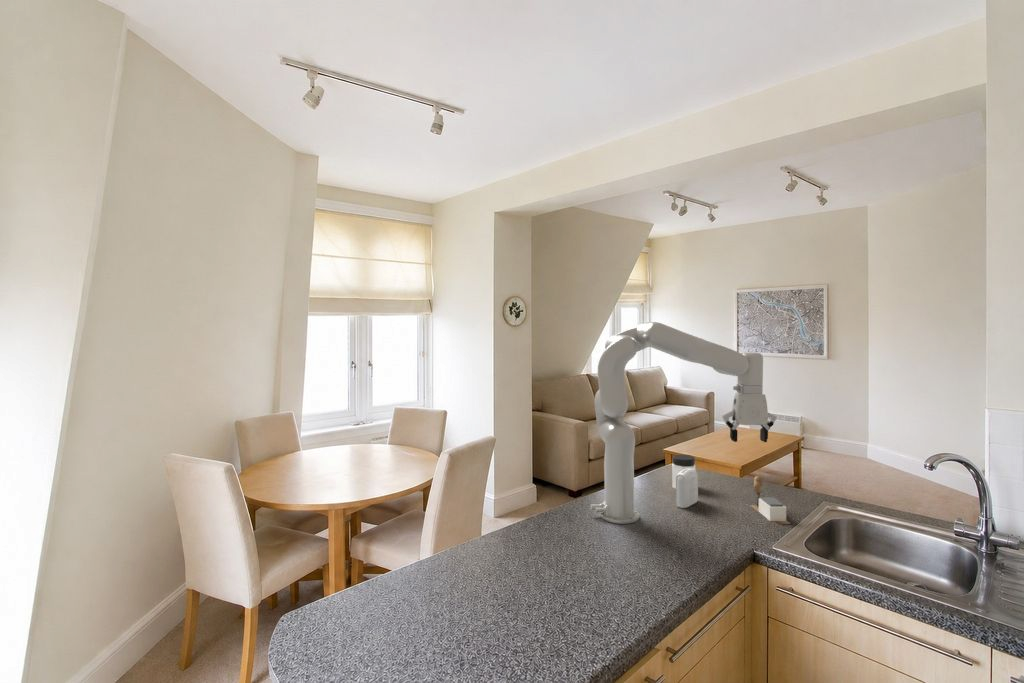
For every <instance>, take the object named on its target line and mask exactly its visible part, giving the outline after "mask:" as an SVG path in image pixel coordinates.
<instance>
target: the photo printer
mask: <svg viewBox="0 0 1024 683" xmlns="http://www.w3.org/2000/svg"><path fill="white" fill-rule="evenodd" d="M698 487H699V474H698V472H697V470H696V469H695V470H694V469H691V468H687V469H684V470H682V471H681V472H679V473H678V475H677V476H676V489H675V505H676V507H678V508H680V509H686V508H689V507H691V506H692V505H695V504H697V502H698V500H699V488H698Z"/></svg>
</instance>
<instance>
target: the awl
mask: <svg viewBox="0 0 1024 683" xmlns="http://www.w3.org/2000/svg"><path fill="white" fill-rule="evenodd" d="M753 491H754V493H756V505H757V506H759V498H761V493H763V491H764V490H763V478H762V477H761V476H759V475H756V476H755V477H754V478H753Z"/></svg>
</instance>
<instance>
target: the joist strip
mask: <svg viewBox="0 0 1024 683" xmlns="http://www.w3.org/2000/svg"><path fill="white" fill-rule="evenodd" d="M749 506H750V507H751V508H753V509H754V510H755V511H756V512H758V513H760V512H759V506H757V504H749ZM771 522H772V524H774V525H784V524H786V525H788V524H790V525H791V524H792V523H791V522H790V521H788V520H787V519H786V521H771Z"/></svg>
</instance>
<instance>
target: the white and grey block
mask: <svg viewBox="0 0 1024 683" xmlns="http://www.w3.org/2000/svg"><path fill="white" fill-rule="evenodd" d="M758 513H759V514H761V515H762V516H763V517H765V518H766V519H767V520H768V521H770V522H772V521H786V520H787V506H785V505H784V504H783V503H782V502H780V501H779V500H778V499H777V498H775V497H768V496H767V497H761V496H760V498H759V512H758Z"/></svg>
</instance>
